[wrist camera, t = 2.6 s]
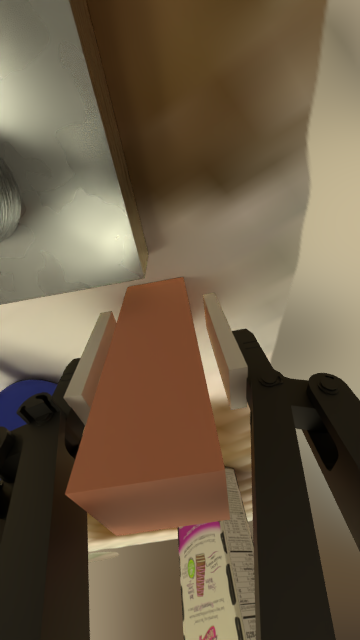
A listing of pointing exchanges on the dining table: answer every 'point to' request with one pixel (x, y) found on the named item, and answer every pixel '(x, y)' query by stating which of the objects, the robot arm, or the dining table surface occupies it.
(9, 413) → the mug
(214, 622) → the candy bar box
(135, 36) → the dining table surface
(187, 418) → the orange rectangular block
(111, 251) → the gray socket post base
